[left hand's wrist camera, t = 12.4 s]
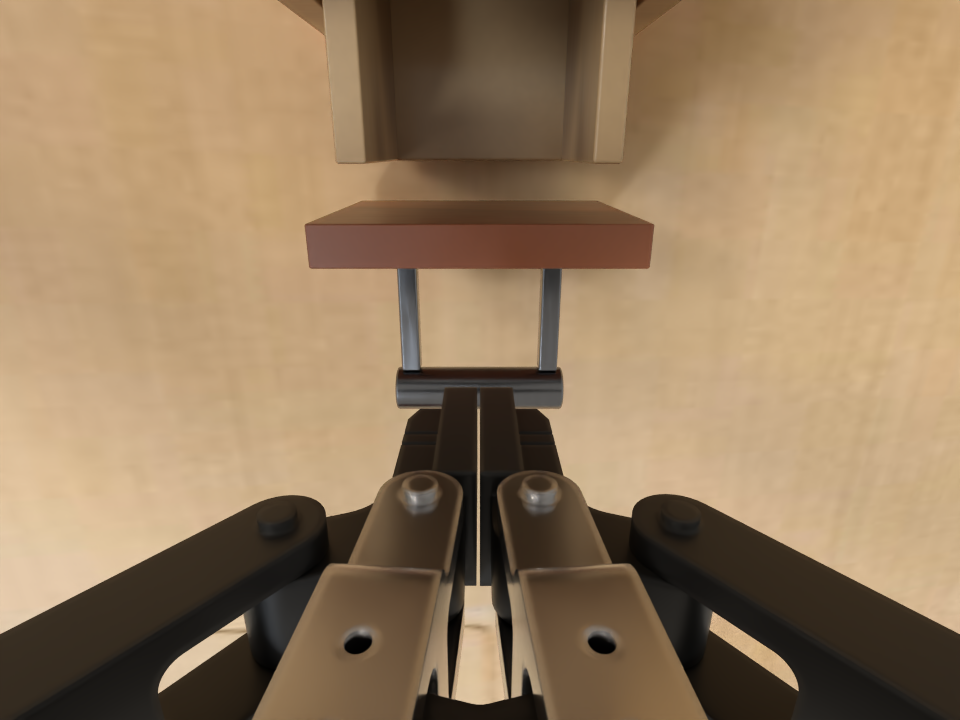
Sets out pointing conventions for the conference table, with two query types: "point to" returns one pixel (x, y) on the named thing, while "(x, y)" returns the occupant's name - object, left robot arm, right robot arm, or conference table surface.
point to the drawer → (479, 155)
